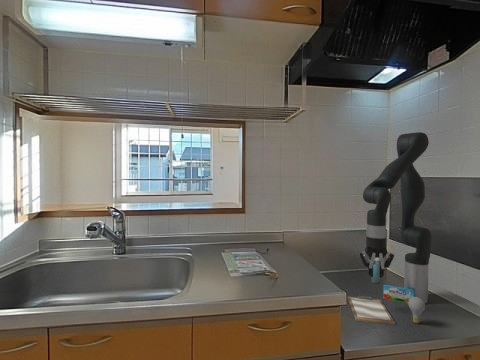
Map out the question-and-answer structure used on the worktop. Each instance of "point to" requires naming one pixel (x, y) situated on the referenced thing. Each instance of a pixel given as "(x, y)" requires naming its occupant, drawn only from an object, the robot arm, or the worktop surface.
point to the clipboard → (370, 310)
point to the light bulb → (416, 308)
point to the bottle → (376, 271)
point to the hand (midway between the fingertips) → (375, 276)
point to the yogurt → (397, 293)
